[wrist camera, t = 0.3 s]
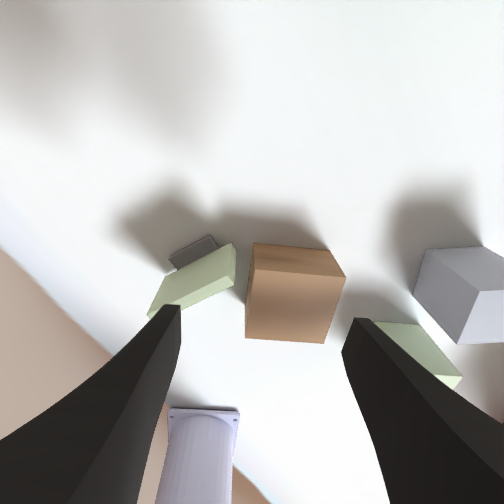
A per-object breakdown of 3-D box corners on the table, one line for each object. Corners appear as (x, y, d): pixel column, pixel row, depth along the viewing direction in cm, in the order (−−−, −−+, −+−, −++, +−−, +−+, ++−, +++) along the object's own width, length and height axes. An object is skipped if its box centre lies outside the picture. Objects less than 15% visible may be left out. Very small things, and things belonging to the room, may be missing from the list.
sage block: (401, 358, 27) (436, 413, 22) (358, 355, 26) (383, 410, 21) (419, 324, 25) (462, 376, 20) (373, 320, 24) (405, 373, 19)
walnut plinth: (311, 308, 24) (323, 343, 20) (245, 303, 23) (244, 338, 20) (329, 249, 21) (346, 277, 17) (253, 241, 20) (255, 269, 17)
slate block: (464, 292, 23) (522, 341, 18) (412, 295, 23) (456, 344, 18) (482, 246, 21) (555, 287, 16) (425, 249, 21) (480, 291, 16)
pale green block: (243, 258, 21) (243, 297, 16) (181, 289, 22) (165, 334, 18) (223, 227, 19) (217, 261, 15) (158, 262, 21) (134, 303, 16)
